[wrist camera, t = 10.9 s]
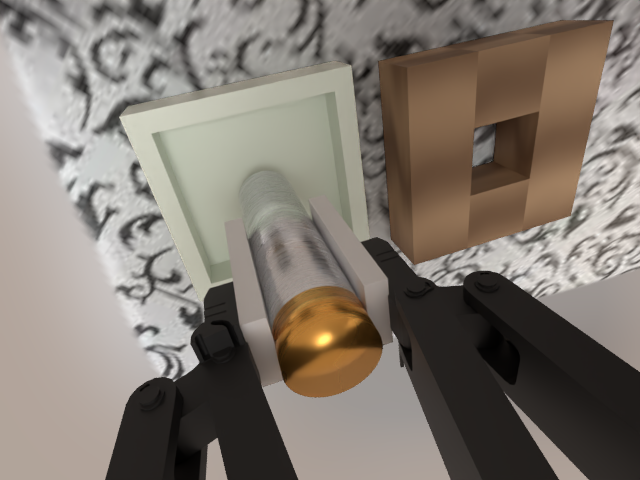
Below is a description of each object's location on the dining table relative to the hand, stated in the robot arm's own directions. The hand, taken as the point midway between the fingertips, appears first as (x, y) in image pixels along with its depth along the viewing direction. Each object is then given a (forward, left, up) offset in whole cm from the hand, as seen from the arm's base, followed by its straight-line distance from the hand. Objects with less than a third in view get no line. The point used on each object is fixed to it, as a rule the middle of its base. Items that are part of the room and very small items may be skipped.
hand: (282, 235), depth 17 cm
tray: (0, 0, -7) cm, 7 cm away
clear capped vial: (0, 0, -5) cm, 5 cm away
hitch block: (+1, +14, -7) cm, 16 cm away
